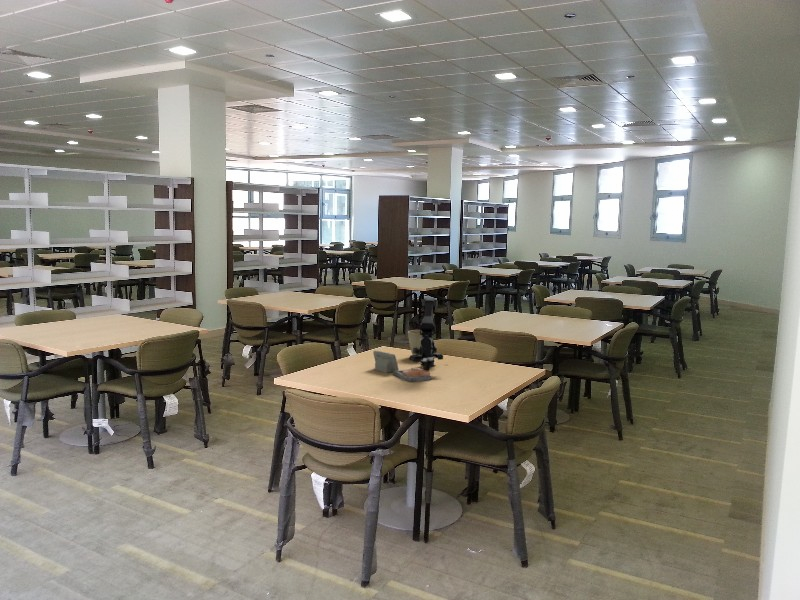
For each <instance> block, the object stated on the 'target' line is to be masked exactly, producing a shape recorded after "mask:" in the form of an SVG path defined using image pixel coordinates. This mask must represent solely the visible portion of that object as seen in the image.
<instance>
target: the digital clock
mask: <svg viewBox="0 0 800 600" xmlns="http://www.w3.org/2000/svg"><path fill="white" fill-rule="evenodd" d="M372 353H373V357H374V361H375V363H374V370H375V371H376V372H383V373H386V374H387V373H388V374H389V373H393V371H399V370H400V369H399V364H398V361H397V357H396V354H394V353H392V352H386V351H381V350H373V352H372Z"/></svg>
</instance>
